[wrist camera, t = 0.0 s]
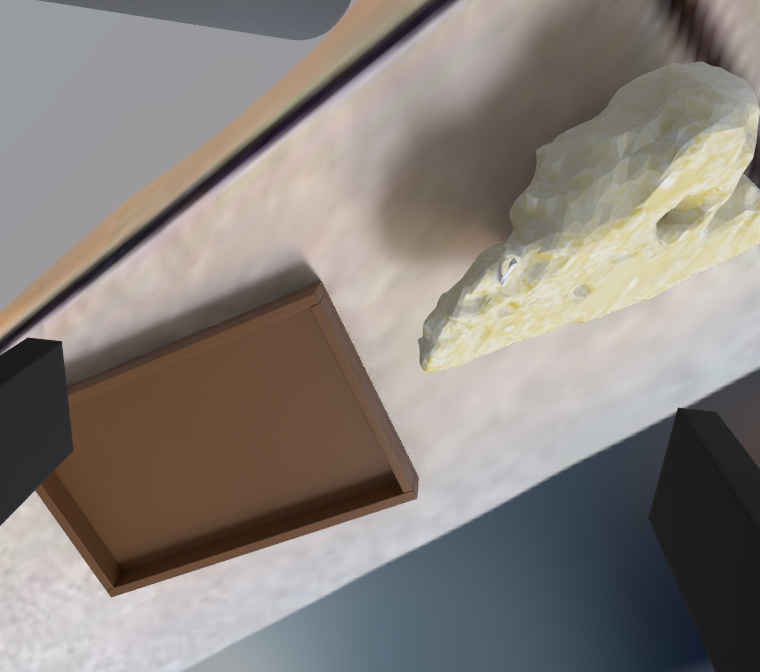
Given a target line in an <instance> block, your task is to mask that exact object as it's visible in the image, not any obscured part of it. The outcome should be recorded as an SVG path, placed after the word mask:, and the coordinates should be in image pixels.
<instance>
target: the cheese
mask: <svg viewBox="0 0 760 672" xmlns="http://www.w3.org/2000/svg"><path fill="white" fill-rule="evenodd" d="M759 114H760V110H759V106H758V103H757V99H756V96H755V93H754V91H753V88H752V87H751V86H750V85H749V84H748V83H747V82H746V81H745V80H744V79H742V78H740V77H737V76H735V75H733V74H731V73H729V72H727V71H726V70H724V69H722V68H720V67H715V66H710V65H708V64H706V63H704V62H694V63H688V64H680V63H669V64H667V65H665V66H663V67H661V68H659V69H657V70H654V71H651V72H649V73H646V74H643V75H640V76H638V77H637V78H635V79H634V80H632V81H630V82H629V83H627V84H626V85H624V86H623V87H622V88H620V89H619V90H618V91H617V92H616V93H615V94H614V96H613V97H612V98H611V100H610V102H609V104H608V106H607V107H606V109H604V110H603V111H602V112H601V113H600V114H599V115H597V116H596V117H594V118H593V119H591V120H589V121H586V122H583V123H581V124H579V125H577V126H575V127H573V128H571V129H569V130H567V131H565V132H564V133H562V134H560V135H558V136H556V138H555V139H554V140H553V142H552V143H548V144H545V145H543V146H542V147H540V148H538V149H537V151H536V158H537V166H536V171H535V174H534V177H533V180H532V182H531V184H530V185H529V186H528V187H527V188H526V189H525V190H524V192H523V193H522V194H521V195H520V196H519V197H518V198H517V199H516V201H515V203H514V204H513V206H512V208H511V209H510V214H509V216H510V221H511V223H512V225H513V230H512V232H511V234H510V236H509V237H508V238H507V240H506V241H505V242H504V243H500V244H497V245H495V246H493V247H491V248H489V249H487V250H485V251H484V252H483V253H481V254H480V255H479V256H478V257H477V259H476V260H475V261H474V263H473V264H472V265H471V267H470V268H469V269H468V271H467V272H466V274H465V275H464V277H463V278H462V279H461V280H460V281H459V282H458V283H457V284H456V285H455V286H453V287H452V288H451V289H450V290H449V291H448V292H446V293H444V294H442V295H441V297H440V299H439V300H438V303H437V306H436V308H435V309H434V310H433V311H432V312H431V314H430V315H429V316H428V317H427V319H426V320H425V322H424V325H423V337H422V338H420V339H418V344H419V348H420V365H421V367H422V369H423V370H425V371H426V372H427V373H433V372H438V371H442V370H445V369H450V368H455V367H459V366H462V365H465V364H467V363H468V362H470V361H471V360H472V359H474V358H476V357H478V356H482V355H486V354H489V353H492V352H494V351H497V350H499V349H501V348H503V347H506V346H508V345H510V344H512V343H516V342H519V341H523V340H526V339H529V338H531V337H534V336H538V335H541V334H544V333H547V332H549V331H552V330H554V329H556V328H558V327H560V326H562V325H564V324H567V323H584V322H586V321H589V320H592V319H598V318H600V317H602V316H604V315H606V314H608V313H611V312H615V311H618V310H620V309H623V308H626V307H628V306H630V305H632V304H635V303H637V302H641V301H647V300H649V299H650V298H652V297H654V296H656V295H658V294H660V293H662V292H664V291H665V290H667V289H669V288H671V287H673V286H674V285H676V284H678V283H679V282H681V281H683V280H684V279H686V278H687V277H689V276H691V275H694V274H696V273H699V272H701V271H704V270H706V269H708V268H710V267H712V266H714V265H716V264H720V263H722V262H724V261H726V260H728V259H730V258H732V257H735V256H737V255H740V254H742V253H743V252H745V251H747V250H748V249H750V248H752V247H753V246H755V245H757V244H758V243H760V189H758V188H757V186H756V185H755V184H754V183H753V182H752V181H751V180H750V179H749V178H748V177H747V176H746V175H745V174H743V172H744V170H745V169H746V167H747V166H748V165H749V163H750V162H751V160H752V159H753V155H754V150H755V146H756V139H757V126H758V121H759Z"/></svg>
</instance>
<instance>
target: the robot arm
mask: <svg viewBox="0 0 760 672" xmlns="http://www.w3.org/2000/svg"><path fill="white" fill-rule="evenodd" d="M73 451H74V449H73V440H72V430H71V421H70V412H69V403H68V394H67V385H66V376H65V367H64V358H63V349H62V341H54V340H45V339H36V338H26V339H25V340H23V341H22V342H20V343H19V344H17V345H16V346H14V347H13V348H11V349H9V350H8V351H6V352H5V353H3V354H2V355H0V526H1V525H2V524H3V523H4V522H5V520H6V519H7V518H8V517H9V516H10V515H11V514H12V513H13V512H14V511H15V510H16V509H17V508H18V507H19V506H20V505H21V504H22V503H23V502H24V501H25V500H26V499H27V498H28V497H29V496H30V495H31V494H32V493H33V492H34V491H35V490H36V489H37V488H38V487H39V486H40V485H41V484H42V483H43V482H44V481H45V480H46V479H47V478H48V476H49V475H50V474H51V473H52V472H53V471H54V470H55V469H56V468H57V467H58V466H59V465H60V464H61V463H62V462H63V461H64V460H65V459H66V458H67V457H68V456H69V455H70V454H71V453H72V452H73ZM649 521H650V523H651V526H652V528H653V530H654V533H655V535H656V537H657V539H658V542H659V544H660V546H661V549H662V551H663V553H664V555H665V558H666V560H667V562H668V565H669V567H670V569H671V572H672V574H673V576H674V578H675V581H676V583H677V585H678V588H679V590H680V592H681V595H682V597H683V599H684V601H685V604H686V606H687V608H688V611H689V613H690V615H691V618H692V620H693V622H694V624H695V627H696V629H697V631H698V634H699V636H700V638H701V640H702V643H703V645H704V647H705V649H706V652H707V654H708V657H709V659H710V661H711V663H712V666H713V668H714V670H715V672H760V469H759V467H758V466H757V465H756V464H755V462H754V461H753V460H752V458H751V457H750V456H749V454H748V453H747V452H746V450H745V449H744V448H743V446H742V445H741V444H740V443H739V441H738V440H737V439H736V437H735V436H734V435H733V433H732V432H731V431H730V429H729V428H728V427H727V425H726V424H725V423H724V422H723V420H722V419H721V418H720V416H719V415H718V414H717V412H711V411H703V410H693V409H684V408H678V410H677V413H676V417H675V421H674V425H673V428H672V432H671V436H670V440H669V443H668V448H667V451H666V455H665V458H664V462H663V466H662V469H661V473H660V477H659V481H658V484H657V488H656V492H655V496H654V499H653V503H652V507H651V511H650V515H649Z"/></svg>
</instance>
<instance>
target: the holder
mask: <svg viewBox="0 0 760 672" xmlns="http://www.w3.org/2000/svg"><path fill="white" fill-rule="evenodd" d="M67 394H68V403H69V412H70V421H71V430H72V440H73V449H74V451H73V452H72V453H71V454H70V455H69V456H68V457H67V458H66V459H65V460H64V461H63V462H62V463H61V464H60V465H59V466H58V467H57V468H56V469H55V470H54V471H53V472H52V473H51V474H50V475H49V476H48V478H47V479H46V480H45V481H44V482H43V483H42V484H41V485H40V486H39V487H38V488H37V489H36V490H35V491H36V492H37V494H38V495H39V496H40V498H41V499H42V501H43V502H44V503H45V505H46V506H47V508H48V509H49V511H50V512H51V513H52V515H53V516H54V518H55V519H56V520H57V522H58V523H59V525H60V526H61V527H62V529H63V530H64V532H65V533H66V534H67V536H68V537H69V539H70V540H71V542H72V543H73V544H74V546H75V547H76V549H77V550H78V551H79V553H80V554H81V556H82V557H83V558H84V560H85V561H86V563H87V564H88V565H89V567H90V568H91V570H92V571H93V573H94V574H95V575H96V577H97V578H98V580H99V581H100V582H101V584H102V585H103V587H104V588H105V589H106V590H107V592H108V594H109V595H110V597H114V596H117V595H120V594H123V593H126V592H130V591H133V590H136V589H139V588H142V587H145V586H148V585H151V584H154V583H157V582H160V581H164V580H167V579H170V578H173V577H176V576H179V575H182V574H185V573H188V572H191V571H195V570H198V569H201V568H204V567H207V566H210V565H213V564H216V563H219V562H222V561H226V560H229V559H232V558H235V557H238V556H241V555H244V554H247V553H250V552H253V551H257V550H260V549H263V548H266V547H269V546H272V545H275V544H278V543H281V542H284V541H288V540H291V539H294V538H297V537H300V536H303V535H306V534H309V533H312V532H315V531H319V530H322V529H325V528H328V527H331V526H334V525H337V524H340V523H343V522H346V521H349V520H353V519H356V518H359V517H362V516H365V515H368V514H371V513H374V512H377V511H380V510H384V509H387V508H390V507H393V506H396V505H399V504H402V503H405V502H408V501H411V500H415V499H417V495H418V480H419V478H418V476H417V474H416V472H415V470H414V467H413V465H412V463H411V461H410V459H409V457H408V455H407V453H406V451H405V449H404V447H403V445H402V443H401V441H400V439H399V437H398V435H397V433H396V431H395V429H394V427H393V425H392V423H391V421H390V419H389V417H388V415H387V413H386V411H385V409H384V407H383V405H382V403H381V401H380V399H379V397H378V395H377V393H376V391H375V389H374V387H373V385H372V383H371V381H370V378H369V376H368V374H367V372H366V370H365V368H364V366H363V364H362V362H361V360H360V358H359V356H358V354H357V352H356V350H355V348H354V346H353V344H352V342H351V340H350V338H349V336H348V334H347V332H346V330H345V328H344V326H343V324H342V322H341V320H340V318H339V316H338V314H337V312H336V310H335V308H334V306H333V304H332V302H331V300H330V298H329V296H328V294H327V292H326V289H325V287H324V285H323V283H322V282H321V281H320V282H318V283H315V284H313V285H310V286H308V287H306V288H303V289H301V290H298V291H296V292H294V293H291V294H289V295H286V296H284V297H282V298H279V299H277V300H275V301H272V302H270V303H267V304H265V305H263V306H260V307H258V308H255V309H253V310H251V311H248V312H246V313H243V314H241V315H239V316H236V317H234V318H232V319H229V320H227V321H224V322H222V323H220V324H217V325H215V326H212V327H210V328H208V329H205V330H203V331H201V332H198V333H196V334H193V335H191V336H189V337H186V338H184V339H181V340H179V341H177V342H174V343H172V344H169V345H167V346H165V347H162V348H160V349H158V350H155V351H153V352H150V353H148V354H146V355H143V356H141V357H138V358H136V359H134V360H131V361H129V362H127V363H124V364H122V365H119V366H117V367H115V368H112V369H110V370H107V371H105V372H103V373H100V374H98V375H95V376H93V377H91V378H88V379H86V380H84V381H81V382H79V383H76V384H74V385H72V386H69V387H67Z"/></svg>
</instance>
